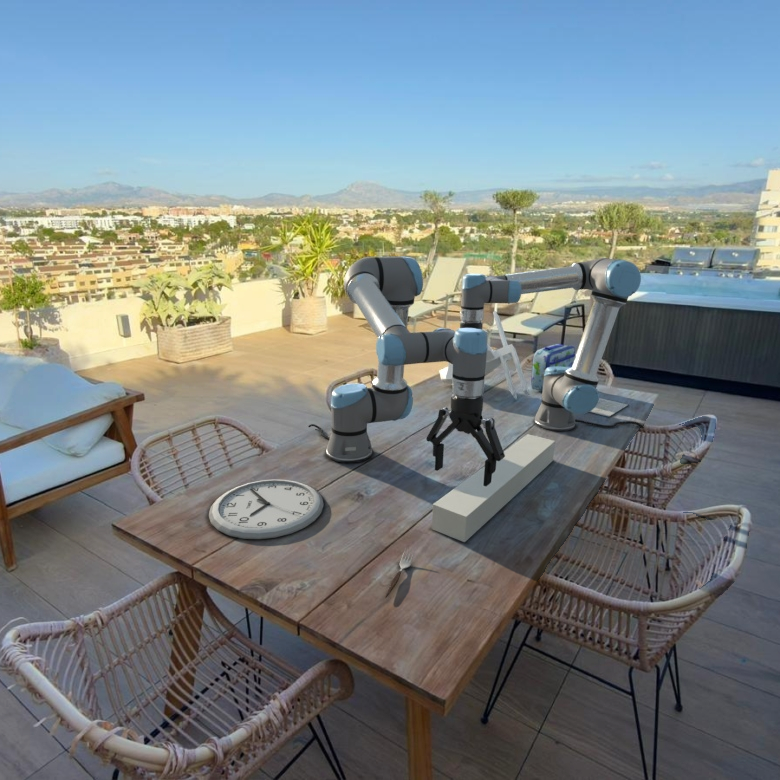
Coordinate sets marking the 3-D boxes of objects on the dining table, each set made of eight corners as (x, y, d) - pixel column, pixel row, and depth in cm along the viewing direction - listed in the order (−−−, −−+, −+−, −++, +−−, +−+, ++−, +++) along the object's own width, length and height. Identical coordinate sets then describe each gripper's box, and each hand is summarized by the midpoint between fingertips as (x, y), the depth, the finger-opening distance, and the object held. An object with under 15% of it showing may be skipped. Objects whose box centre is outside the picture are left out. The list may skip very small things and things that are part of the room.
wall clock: (321, 531, 127) (194, 535, 125) (321, 537, 128) (195, 541, 125) (325, 475, 156) (222, 477, 153) (325, 480, 156) (222, 482, 154)
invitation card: (608, 416, 214) (573, 407, 224) (608, 416, 214) (573, 408, 224) (628, 404, 229) (594, 396, 238) (628, 405, 229) (594, 397, 238)
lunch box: (547, 396, 238) (552, 351, 232) (526, 391, 246) (531, 347, 239) (574, 385, 256) (579, 343, 250) (554, 380, 263) (559, 340, 257)
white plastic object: (461, 429, 252) (437, 405, 227) (444, 352, 274) (420, 323, 250) (535, 404, 240) (518, 377, 215) (510, 326, 262) (492, 293, 237)
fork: (379, 598, 107) (379, 590, 107) (404, 554, 122) (404, 547, 121) (391, 601, 106) (391, 593, 106) (415, 557, 121) (415, 549, 120)
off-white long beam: (525, 453, 178) (527, 433, 176) (553, 460, 173) (555, 440, 171) (431, 529, 132) (432, 504, 130) (464, 542, 127) (466, 516, 125)
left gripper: (414, 388, 127) (412, 467, 134) (510, 409, 113) (502, 497, 120) (430, 381, 133) (427, 458, 139) (523, 401, 119) (515, 485, 125)
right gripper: (447, 315, 185) (444, 373, 192) (477, 328, 163) (473, 393, 169) (466, 314, 187) (463, 371, 194) (498, 327, 165) (494, 391, 171)
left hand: (462, 476), depth 129 cm, fingers open, 13 cm apart
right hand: (468, 382), depth 181 cm, fingers open, 13 cm apart
